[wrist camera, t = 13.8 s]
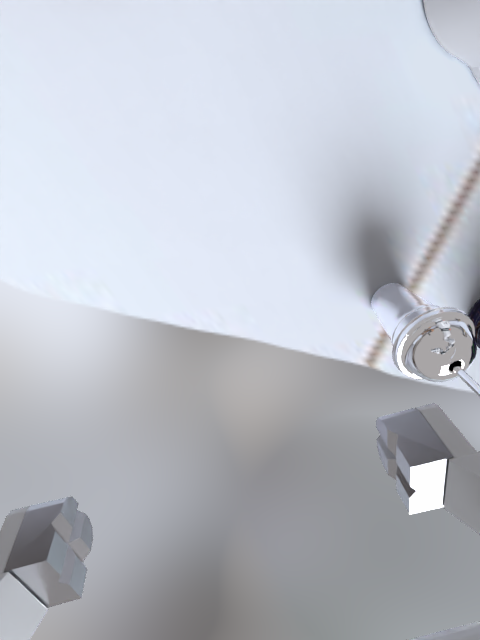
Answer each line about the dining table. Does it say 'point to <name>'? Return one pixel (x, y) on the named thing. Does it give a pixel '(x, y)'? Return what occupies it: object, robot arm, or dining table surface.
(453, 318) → the cup with straw
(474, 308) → the storage jar
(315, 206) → the dining table surface
